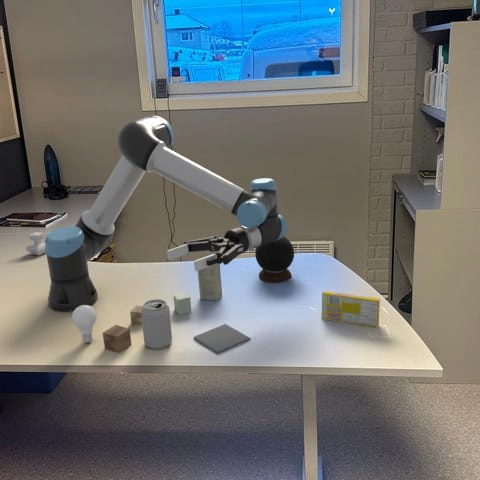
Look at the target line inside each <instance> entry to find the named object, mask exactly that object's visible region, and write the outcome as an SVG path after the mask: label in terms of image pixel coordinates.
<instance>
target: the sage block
mask: <svg viewBox="0 0 480 480" xmlns="http://www.w3.org/2000/svg"><path fill="white" fill-rule="evenodd" d="M173 305H174V311H175V312H176V313H177V315H178V316H180V315H185V314H189V313H192V302H191V296H190V295H189V294H188V293H187V291H185V292H181V293H176V294H173Z"/></svg>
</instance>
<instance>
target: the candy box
mask: <svg viewBox="0 0 480 480" xmlns="http://www.w3.org/2000/svg"><path fill="white" fill-rule="evenodd" d="M380 302H381V299H380V298H378V297H370V296H362V295H354V294H347V293H341V292H332V291H325V290H323V291H322V293H321V319H322V320H326V319H327V321H334V322H339V321H340V322H339V323H346V324H347V323H348V324H351V323H352V324H353V325H357V326H358V325H360V326H364V327H371V328H376V327H377V329H378V328H379V325H380V306H381V305H380V304H381V303H380Z"/></svg>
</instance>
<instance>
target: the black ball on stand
mask: <svg viewBox="0 0 480 480" xmlns="http://www.w3.org/2000/svg"><path fill="white" fill-rule="evenodd" d="M254 256H255V259H256V262H257V264H258V266H259V267H260V268H261V270H260V272H259V273H258V278H259V280H261V281H262V282H265V283H271V284H280V283H285V282H287V281H289V280H291V278H292V273H291V271H290V270H289V269H288V268H289V267H291V265H292V263H293V261H294V259H295V250H294V245H293V244H292V242H291V241H290V240H289V239H288V238H287V237H285V236H284V237H283V238H281V239H279V240H277V241H275V242H271V243H268V244H265V245H262V246H259V247H256V248H255V255H254Z"/></svg>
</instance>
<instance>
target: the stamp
mask: <svg viewBox="0 0 480 480" xmlns="http://www.w3.org/2000/svg"><path fill="white" fill-rule="evenodd" d="M28 237H29V240H30V241H33V243H31V244H29V245H27V246H26V247H25V249H26V251H27V252H28V253H30V255H34V256H41V255H43V254H45V253H46V251H45V242H43V241H41V240H43V239H44V237H45V232H37V231H35V232H32V233H31V234H29V236H28Z"/></svg>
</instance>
